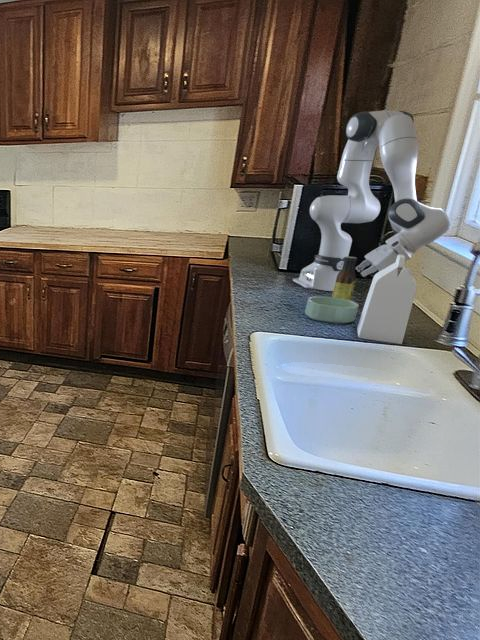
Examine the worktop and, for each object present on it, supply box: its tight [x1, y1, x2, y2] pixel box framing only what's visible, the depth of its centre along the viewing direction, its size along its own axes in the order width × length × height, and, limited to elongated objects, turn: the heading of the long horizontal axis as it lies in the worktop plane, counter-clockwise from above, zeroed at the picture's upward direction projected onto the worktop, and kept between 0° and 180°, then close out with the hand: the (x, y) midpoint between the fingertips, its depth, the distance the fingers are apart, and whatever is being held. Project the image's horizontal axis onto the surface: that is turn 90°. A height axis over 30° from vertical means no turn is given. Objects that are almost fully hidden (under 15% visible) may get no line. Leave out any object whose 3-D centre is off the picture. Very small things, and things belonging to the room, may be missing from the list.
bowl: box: [304, 295, 360, 325], centre depth 189 cm, size 16×16×6 cm
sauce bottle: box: [331, 256, 358, 301], centre depth 197 cm, size 7×6×20 cm
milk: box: [356, 254, 418, 345], centre depth 167 cm, size 12×12×26 cm
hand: (359, 272), depth 194 cm, fingers open, 8 cm apart
